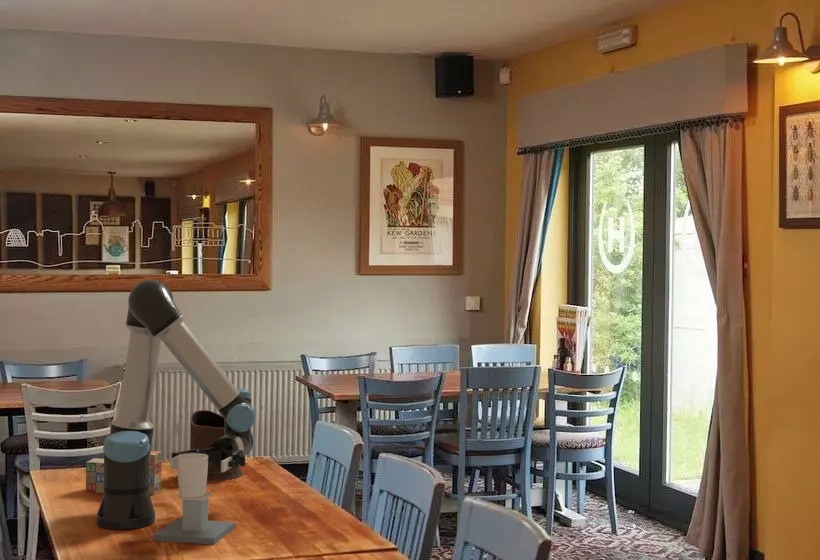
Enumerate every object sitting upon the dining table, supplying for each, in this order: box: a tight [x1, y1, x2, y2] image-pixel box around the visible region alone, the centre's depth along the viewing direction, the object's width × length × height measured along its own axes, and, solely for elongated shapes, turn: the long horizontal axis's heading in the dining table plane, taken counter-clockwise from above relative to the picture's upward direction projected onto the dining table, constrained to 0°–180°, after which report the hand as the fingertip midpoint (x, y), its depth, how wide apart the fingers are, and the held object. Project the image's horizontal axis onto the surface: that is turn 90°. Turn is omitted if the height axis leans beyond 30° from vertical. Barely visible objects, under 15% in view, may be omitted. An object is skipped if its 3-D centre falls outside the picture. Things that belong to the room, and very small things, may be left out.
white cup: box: [176, 453, 208, 498], centre depth 264 cm, size 8×8×10 cm
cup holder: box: [189, 409, 244, 482], centre depth 333 cm, size 18×24×25 cm
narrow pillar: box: [152, 492, 236, 545], centre depth 264 cm, size 16×16×10 cm
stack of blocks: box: [85, 450, 162, 496], centre depth 310 cm, size 21×6×12 cm, turn 84°
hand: (197, 465), depth 264 cm, fingers open, 13 cm apart
